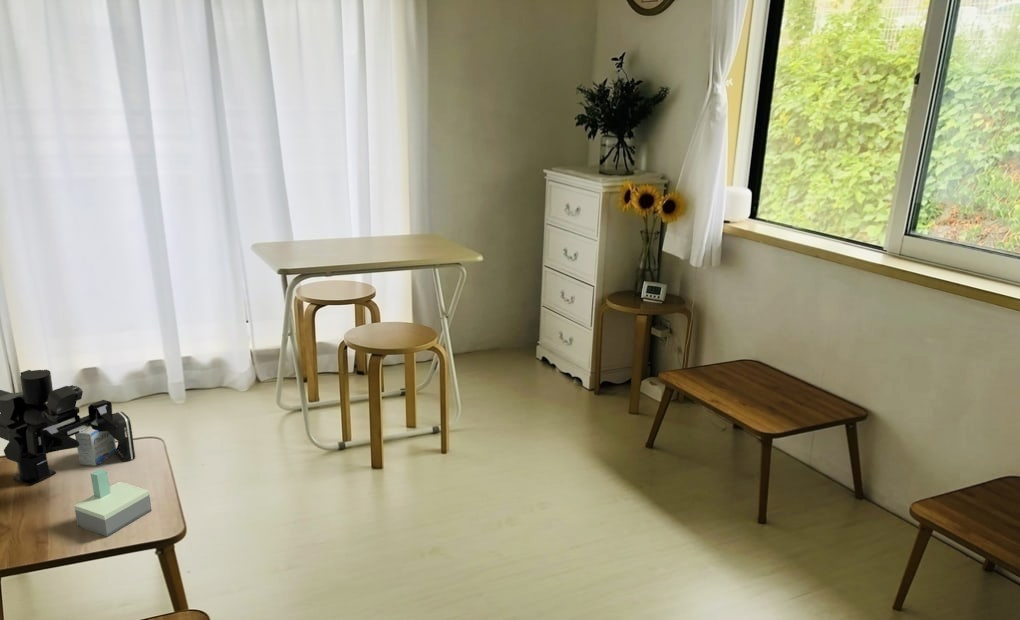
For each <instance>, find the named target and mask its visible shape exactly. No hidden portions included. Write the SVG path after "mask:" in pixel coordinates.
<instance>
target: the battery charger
mask: <svg viewBox="0 0 1020 620" xmlns="http://www.w3.org/2000/svg"><path fill="white" fill-rule="evenodd" d="M112 416H113V422H114V423H115V424H116V425H117V430H116V431H108V432H109V433H110V434H111V435H112V436H113V437H114V438H115V441H117V445H116V451H115V453H114V455H115V456H116V457H117V458H118V459H119V460H120V461H121V462H126V461H132V460H134V459H135V458H136V453H135V452H136V451H135V444H134V435H133V431H132V430H133V429H132V423H131V420H130V417H129V416H128V415H127V414H125V412H123V411H117V412H115V413H112Z"/></svg>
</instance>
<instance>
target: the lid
mask: <svg viewBox="0 0 1020 620" xmlns="http://www.w3.org/2000/svg"><path fill="white" fill-rule="evenodd" d="M90 478H91V483H92V484H91V485H92V490H93V495H91V496H90V497H88V498H86V499H84V500H82V501H80V502H78V503H77V504H74V505H73V507H74V511H75V510H77V511H80V512H83V513H86V514H89V515H92V516H94V517H97V518H100V519H103V520H106V519H108V518H110V517H111V516H113V515H115V514H117V513H118V512H120V511H122V510H124V509H125V508H127V507H129V506H131V505H132V504H134V503H136V502H138V501H139V500H141V499H143V498H145V497H146V496H148V495H150V491H149V490H148V489H145V488H141V487H138V486H135V485H133V484H129V483H126V482H123V481H118V482H116V483H114V484H112V485H110V481H109V474H108V470H106V469H103V468H99V469H97V470H95V471H92V472H90Z"/></svg>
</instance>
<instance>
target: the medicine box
mask: <svg viewBox="0 0 1020 620" xmlns="http://www.w3.org/2000/svg"><path fill="white" fill-rule="evenodd" d="M74 436H75V440H77V441H79V446H78V447H76V449H77V453H78V459H79V463H80V465H85V466H95V467H96V466H97V465H100V462H101V463H102V462H103V460H104V459H105V460H106V459H108V458H109V457H111V456H112V455H113V454H115V451H116V448H117V443H116V439H115V438H114V437H113V436H112V435H111V434H110V433H109V432H108V431H103V432H98V430H94V429H92V427H91V426H89V427H87V428H84V429H82V430H79V433H77V434H75V435H74ZM110 455H111V456H110ZM107 457H108V458H107ZM105 460H104V461H105Z"/></svg>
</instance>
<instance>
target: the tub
mask: <svg viewBox="0 0 1020 620" xmlns="http://www.w3.org/2000/svg"><path fill="white" fill-rule="evenodd" d="M152 510H153V509H152V504H151V497H150V494H149V495H148V496H146V497H145V498H143V499H141V500H139V501H138V502H136V503H134V504H132V505H131V506H129V507H127V508H125V509H124V510H122V511H120V512H118V513H117V514H115V515H113V516H111V517H110V518H108V519H106V520H103V519H100V518H97V517H94V516H92V515H89V514H86V513H83V512H80V511H77V510H75V509H74V512H75V519H76V523H77V524H76V525H77V527H79V528H81V529H85V530H87V531H90V532H93V533H95V534H98V535H101V536H103V537H106V536H107V537H106V538H108V537H110V536H111V535H113V534H115V533H116V532H119V531H120V530H122V529H123V528H125V527H127V526H128V525H130V524H132V523H134V522H136V521H137V520H138V519H140V518H142V517H144V516H145V515H148V514H149V513H150V512H152ZM109 535H110V536H109Z"/></svg>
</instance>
